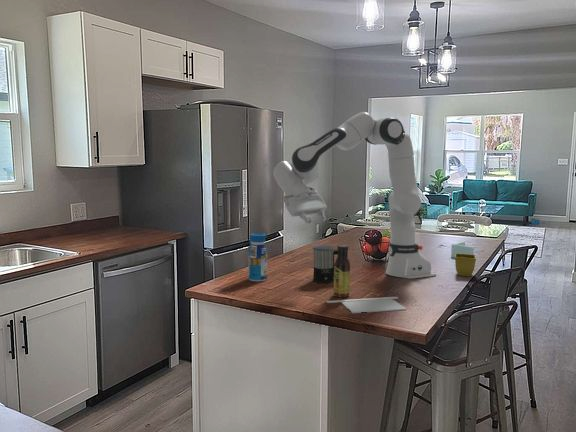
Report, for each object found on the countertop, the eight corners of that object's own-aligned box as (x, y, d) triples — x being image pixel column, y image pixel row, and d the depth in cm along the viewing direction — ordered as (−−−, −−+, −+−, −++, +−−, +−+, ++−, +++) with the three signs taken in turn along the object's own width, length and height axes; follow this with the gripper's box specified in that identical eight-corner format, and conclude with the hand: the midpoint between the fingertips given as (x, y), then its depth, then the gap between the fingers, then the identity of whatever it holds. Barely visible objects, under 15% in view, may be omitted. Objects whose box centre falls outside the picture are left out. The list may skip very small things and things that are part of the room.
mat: (392, 299, 187) (392, 298, 187) (406, 309, 175) (406, 308, 175) (341, 303, 183) (341, 302, 183) (352, 313, 171) (352, 312, 171)
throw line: (396, 297, 190) (396, 296, 190) (398, 298, 189) (398, 297, 189) (326, 301, 184) (326, 300, 184) (327, 303, 183) (327, 302, 183)
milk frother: (319, 284, 209) (319, 249, 207) (301, 276, 222) (301, 243, 221) (347, 280, 215) (348, 247, 213) (328, 272, 229) (328, 241, 227)
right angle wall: (472, 261, 256) (472, 247, 255) (451, 258, 265) (451, 244, 264) (483, 258, 264) (484, 244, 263) (462, 255, 273) (463, 241, 272)
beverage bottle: (245, 278, 218) (245, 233, 216) (263, 276, 222) (263, 232, 219) (251, 282, 211) (251, 236, 208) (270, 280, 214) (270, 235, 211)
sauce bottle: (332, 293, 195) (332, 243, 192) (347, 293, 196) (348, 243, 193) (335, 298, 189) (335, 247, 186) (351, 298, 189) (352, 246, 187)
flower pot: (474, 273, 228) (475, 254, 227) (475, 278, 220) (476, 258, 219) (454, 272, 231) (455, 253, 230) (454, 276, 223) (455, 256, 222)
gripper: (285, 191, 192) (304, 218, 187) (318, 188, 208) (336, 214, 202) (277, 201, 196) (295, 228, 191) (309, 198, 211) (327, 223, 206)
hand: (317, 221), depth 197 cm, fingers open, 8 cm apart
